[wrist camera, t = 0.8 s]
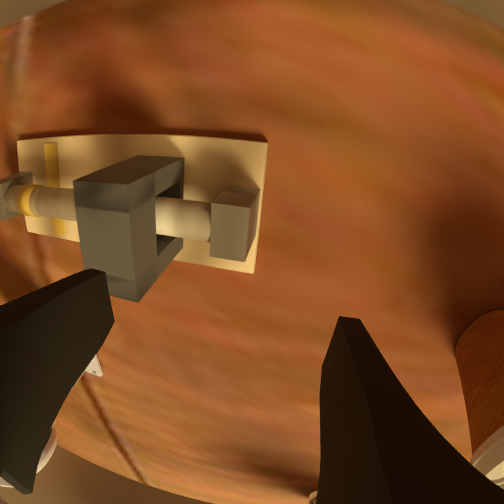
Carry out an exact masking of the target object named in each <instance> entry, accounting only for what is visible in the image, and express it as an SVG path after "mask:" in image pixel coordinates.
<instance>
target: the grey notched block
mask: <svg viewBox="0 0 504 504" xmlns="http://www.w3.org/2000/svg"><path fill="white" fill-rule="evenodd" d="M184 160H185V158H179V157H164V156H145V155H138V156H135V157H132V158H129V159H126V160H124V161H121V162H118V163H116V164H113V165H110V166H108V167H105V168H103V169H100V170H97V171H95V172H92V173H90V174H88V175H85V176H83V177H80V178H78V179H76V180H73V191H74V201H75V211H76V219H77V227H78V234H79V240H80V247H81V253H82V259H83V264H84V269H85V270H87V269H90V268H92V269H96V270H100V271H104V272H106V279H107V285H108V290H109V295H110V296H114V297H118V298H122V299H126V300H129V301H133V302H137V303H138V302H139V301H140V300H141V299H142V297H143V296H144V295H145V294H146V292H147V291H148V290H149V289H150V287H151V286H152V285H153V284H154V282H155V281H156V280H157V279H158V277H159V276H160V275H161V274H162V272H163V271H164V270H165V269H166V268H167V266H168V265H169V264H170V263H171V261H172V260H173V259H174V258H175V257H176V255H177V254H178V253H179V252H180V251H181V249H182V248H183V238H180V237H173V236H167V235H160V234H156V213H155V196H159V197H168V198H176V199H183V196H184Z"/></svg>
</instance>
